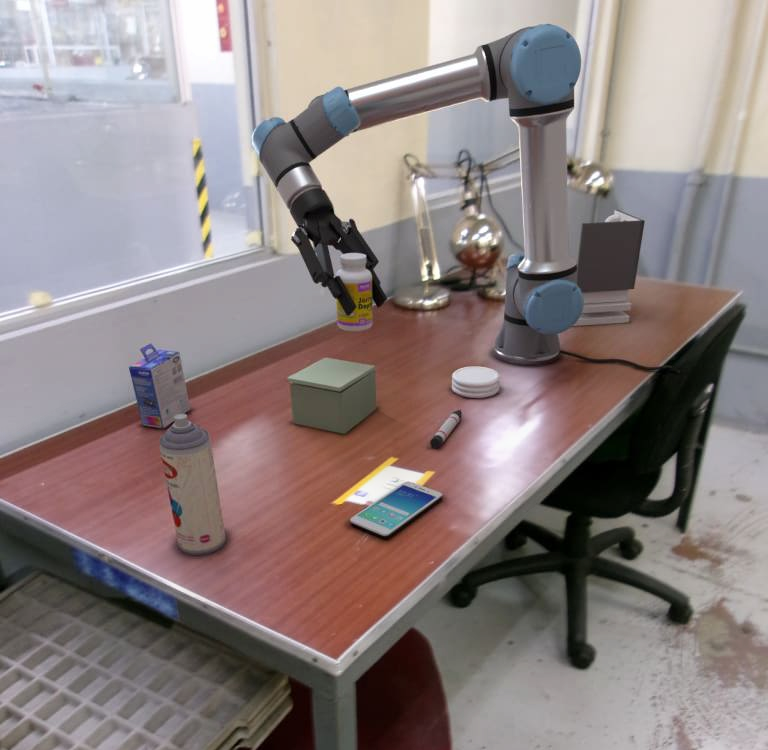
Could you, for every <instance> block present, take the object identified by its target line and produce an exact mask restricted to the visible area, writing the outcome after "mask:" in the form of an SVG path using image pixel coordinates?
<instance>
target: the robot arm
mask: <svg viewBox="0 0 768 750" xmlns="http://www.w3.org/2000/svg"><path fill="white" fill-rule="evenodd" d="M581 69H582V55H581V50H580V47H579V44H578V43H577V41H576V39H575V38H574V37H573V35H572V34H571V33H570V32H569V31H567V30H566V29H564V28H562V27H561V26H558V25H555V24H551V23H539V24H537V25H533V26H527V27H523V28H519V29H518V30H516V31H513V32H512V33H509V34H508V35H505V36H503V37H501V38H499V39H496V40H493V41H491V42H488V43H486V44H481V45H478V46H477V47H476V49H475V51H474V52H473V53H472V54H469V55H465V56H461V57H458V58H454V59H450V60H447V61H443V62H440V63H436V64H432V65H429V66H425V67H422V68H417V69H415V70H410V71H407V72H404V73H400V74H396V75H393V76H389V77H385V78H382V79H379V80H375V81H371V82H368V83H364V84H361V85H356V86H353V87H350V88H347V89H344V88H343V87H342V86H336V87H334V88H332V89H331V90H329V91H327V92H325V93H323V94H320V95H317V96H315V97H314V98H313V99H312V100H311V101H310V102H309V104H308V105H307V107H306V109H304V110H302V112H300V113H299V114H298V115H296V117H294V118H292V119H291V120H289V121H287V122H286V121H285V119H283V118H281V117H279V116H271V117H270V118H269V119H268V120H267V119H264V120H263V121H261V122H260V123H259V124H258V125H257V126H256V127H255V128H254V131H253V132H252V135H251V143H252V146H253V148H254V150H255V152H256V155H257V156H258V160H259V162H260V163H261V165H262V166H263V168H264V170H265V171H266V173H267V175H268V176H269V178H270V180H271V182H272V183H273V185H274V187H275V188H276V191H277V192H278V194H279V196H280V198H281V199H282V201H283V203H284V205H285V207H286V208H287V209H288V210H289V213H290V216H291V218H292V219H293V220H294V223H295V224H296V226H297V228H296V229H295V230H294V232H293V234H292V235H291V237H290V240H291V241H292V243H293V244H294V245H295V247H297V249H298V251H299V253H300V256H301V258H302V260H303V262H304V264H305V266H306V268H307V271H308V273H309V275H310V277H311V279H312V281H313V283H314V284H319V283H320V284H321V287H323V288H328V290H329V292H330V294H331V296H332V297H333V298H334V299H335V300H336V299H338V301H339V303H340V305H341V306H342V308H343V310H344V312H345V313H346V315H347V316H349V315H351V313H352V312H353V311H354V310H355V308H356V307H357V306H356V304H355V303H354V301H353V299H352V297H351V296H350V294H349V292H348V290H347V289H346V287H345V285H344V283H343V281H342V280H341V278H340V276H336V275H335V270H334V267H333V263H332V259H331V253H330V250H329V247H330V246H331V247H333V248H334V249H335V250H336V251H340V253H341V254H346V253H361V254H365V255H366V261H367V262H366V265H365V268H366V269H368V270H369V271H370V272H371V274H372V301H373V302H374V304H375V306H376V307H377V308H381V307H382V306H383V305H384V303H385V302H386V301H387V300H388V297H387V295H386V293H385V292H384V290H383V288H382V286H381V280H380V279H379V277H378V275H377V273H376V272H375V268H376V267H377V265H378V264H379V262H380V261H379V259H378V257H377V256H376V254H375V252H373V250H372V249H371V247H370V246H369V244H368V243H367V241H366V240H365V238H364V237H363V235H362V233H361V232H360V230H359V229H358V226H357V224H356V221H355V220H354V218H349V220H348V221H344V220H343V221H342V220H341V218H339V217H338V215H336V213H335V207H334V204H333V202H332V200H331V199H330V197H329V195H328V193H327V192H326V190H324V186H323V184H322V183H321V181H320V179H319V178H318V176H317V174H316V173H315V171H314V169H313V167H312V166H311V164H310V163H311V162H312V161H315V160H316V159H317V158H318V157H319V156H320V155H322V154H323V153H324V152H326V151H327V150H329V149H331V148H332V147H334V146H335V145H336V144H338V143H340V141H342V140H344V138H347V137H349V136H350V134H354V133H356V132H359V131H360V132H361V131H364V130H367V129H371V128H374V127H379V126H382V125H385V124H389V123H393V122H396V121H400V120H401V121H402V120H404V119H408V118H411V117H416V116H419V115H424V114H426V113H430V112H434V111H439V110H442V109H445V108H448V107H453V106H457V105H460V104H464V103H467V102H471V101H475V100H479V99H481V100H482V101H484V102H485V103H489V102H492V101H497V100H503V99H508V113H509V120H511V121H512V122H514V123H515V125H516V127H517V128H518V144H519V162H520V163H519V164H520V178H521V179H520V181H521V182H520V183H521V199H522V200H521V201H522V202H521V203H522V219H523V220H522V221H523V222H522V223H523V241H524V243H523V244H524V252H516V253H513V254H511V255H510V256H509V257H508V259H507V267H506V281H505V296H504V310H503V312H504V313H503V322H502V324H501V327H500V329H499V332H498V333H497V336H496V338H495V342H494V344H493V355H494V357H495V358H496V359H498V360H499V361H502V362H504V363H508V364H511V365H518V366H543V365H547V364H551V363H554V362H557V361H558V360H559V358H560V357H561V354H562V355H566V356H570V357H573V358H577V359H580V360H582V361H586V362H590V363H621V364H626V365H630V366H632V367H634V368H637V369H641V370H645V371H660V370H667V369H668V370H672V371H674V372H675V373H676V374H681V372H680V370H679V369H678V370H675V369H674V368H671V367H672V366H673V365H659V366H645V365H641V364H638V363H636V362H633V361H631V360H626V359H623V358H622V359H620V358H591V357H586V356H583V355H580V354H577V353H574V352H570V351H566V350H562V349H561V343H560V339H559V334H561V333H565V332H566V331H568V330H570V329H571V328H572V327H574V326H573V325H574V324H575V323H576V322H577V321H578V319H579V318H580V316H581V314H582V311H583V306H584V299H583V295H582V292H581V289H580V288H579V287H578V286H577V262H578V259H576V258H575V257H574V256H573V255H571V253H570V246H569V245H570V243H569V239H570V238H569V196H568V194H569V193H568V191H569V190H568V151H567V150H568V147H567V146H568V145H567V143H568V142H567V119H568V117H569V116H570V115H571V113H573V111H574V110H575V87H576V85H577V83H578V80H579V78H580V75H581ZM335 276H336V277H335Z"/></svg>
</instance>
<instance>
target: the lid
mask: <svg viewBox="0 0 768 750" xmlns="http://www.w3.org/2000/svg"><path fill="white" fill-rule="evenodd" d="M374 370H375V371H376V365H372V364H366V363H361V362H354V361H348V360H343V359H337V358H331V357H326V356H325V357H323V358H321V359H319V360H318V361H316V362H314V363H312V364H310V365H307V367H304V368H303V369H301V370H299V371H297V372H295V373H293V374H291V375H289V376H288V377H286V382H287V383H297V384H302V385H307V386H313V387H318V388H323V389H329V390H334V391H339V392H340V391H342V390H343V389H345V388H347V387H348V386H350V385H351V384H353V383H355V382H356V381H358V380H359V379H361V378H363V377H364V376H366V375H368V374H369V373H371V372H372V371H374Z"/></svg>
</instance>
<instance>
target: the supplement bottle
mask: <svg viewBox="0 0 768 750" xmlns="http://www.w3.org/2000/svg"><path fill="white" fill-rule="evenodd" d="M366 262H367V261H366V255H365V254H361V253H346V254H343V253H341V255H339V263H340V265H341V268H340V269H339V270H337V272H336V273H335V275H334V278H335V277H336V276H340V278H341V280H342V281H343V283H344V285H345V287H346V289H347V290H348V292H349V294H350V296H351V297H352V299H353V301H354V303H355V304H356V306H357V307H356V308H355V310H354V311H353V312H352V313H351V315H349V316H347V315H346V313H345V312H344V310H343V308H342V306H341V305H340V303H339V301H338V299H335V302H336V304H335V305H336V322H337V326H338V328H339V329H340V330H343V331H348V332H362V331H366V330H369V329H370V328H372V326H373V323H374V321H373V319H374V318H373V317H374V316H373V315H374V314H373V313H374V309H373V299H372V274H371V272H370V271H369V270H368V269H366V268H365V265H366Z"/></svg>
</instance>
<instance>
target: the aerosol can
mask: <svg viewBox="0 0 768 750" xmlns="http://www.w3.org/2000/svg"><path fill="white" fill-rule="evenodd" d="M172 423H173V424H172V425H171V426H170V427H169V428H167V430H166V432H165V433H163V434H162V435H161V436H160V437H159V452H160V456H161V462H162V467H163V471H164V472H163V474H164V477H165V483H166V487H167V493H168V498H169V504H170V509H171V514H172V519H173V525H174V529H175V535H176V539H177V544H178V548H179V550H180V551H181V552H183V553H184V554H186V555H191V556H204V555H209V554H211V553H214V552H217V551H218V550H219V549H221V548H222V547H224V545H225V544H226V541H227V538H226V537H227V536H226V531H225V524H224V519H223V512H222V505H221V498H220V493H219V485H218V479H217V473H216V466H215V460H214V453H213V447H212V439H211V437H210V433H209V432H208V431H207V430H206V429H204V428H201V427H199V425H197V424H195V423H194V422H191V421H190V420H189V418H188V415H187V414H186V413H184V414H178V415H176V416H174V421H173V422H172Z"/></svg>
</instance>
